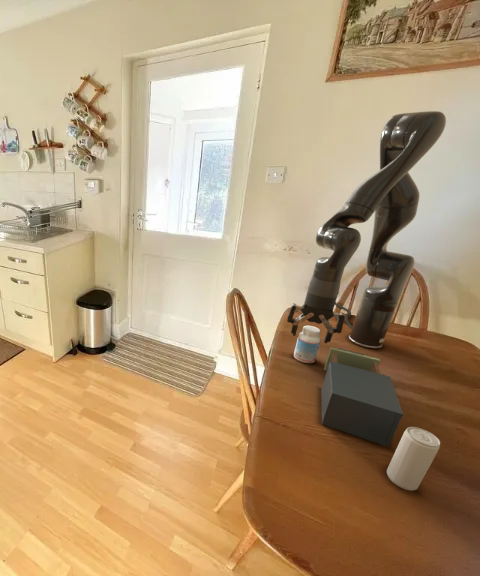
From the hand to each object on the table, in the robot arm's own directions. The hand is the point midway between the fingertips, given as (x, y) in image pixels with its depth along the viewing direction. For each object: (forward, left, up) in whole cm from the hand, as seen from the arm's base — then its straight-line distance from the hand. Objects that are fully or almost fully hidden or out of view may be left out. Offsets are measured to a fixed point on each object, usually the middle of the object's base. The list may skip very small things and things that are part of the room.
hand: (309, 338), depth 101 cm
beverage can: (+40, +18, -8) cm, 44 cm away
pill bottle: (0, 0, -8) cm, 8 cm away
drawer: (+9, +11, -7) cm, 16 cm away
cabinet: (+23, +11, -8) cm, 26 cm away
